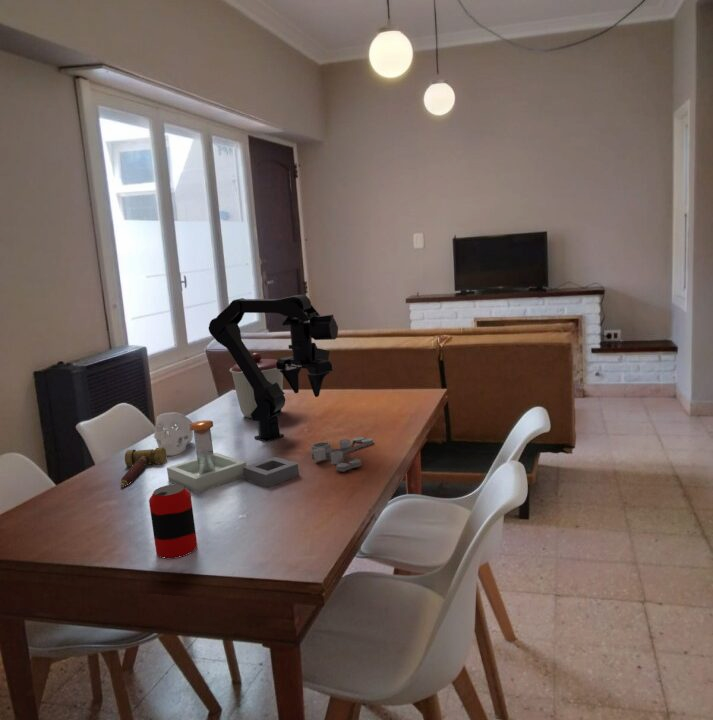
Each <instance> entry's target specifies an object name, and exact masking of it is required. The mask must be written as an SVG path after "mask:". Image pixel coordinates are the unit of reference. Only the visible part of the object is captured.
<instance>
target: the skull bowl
mask: <svg viewBox="0 0 713 720" xmlns="http://www.w3.org/2000/svg"><path fill="white" fill-rule="evenodd" d="M155 420H156V424H155V427H154V435H153V438H154V440H155V441H156V443H157V448H161V447H164V448H165V450H166V457H172V456H173V457H175V456H177V454H178V455H180V454H181V453H183V452H184V451H186V448H187V445H189V444H190V443H192V440H193V437H194V430H190V426H189V425H190V424H191V423H193V421H192V420H191V419H190V418H189V417H187V416H186V415H184V414H183V413H179V412H164V413H161V414H159V415H157V416H156V419H155ZM174 455H175V456H174Z"/></svg>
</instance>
